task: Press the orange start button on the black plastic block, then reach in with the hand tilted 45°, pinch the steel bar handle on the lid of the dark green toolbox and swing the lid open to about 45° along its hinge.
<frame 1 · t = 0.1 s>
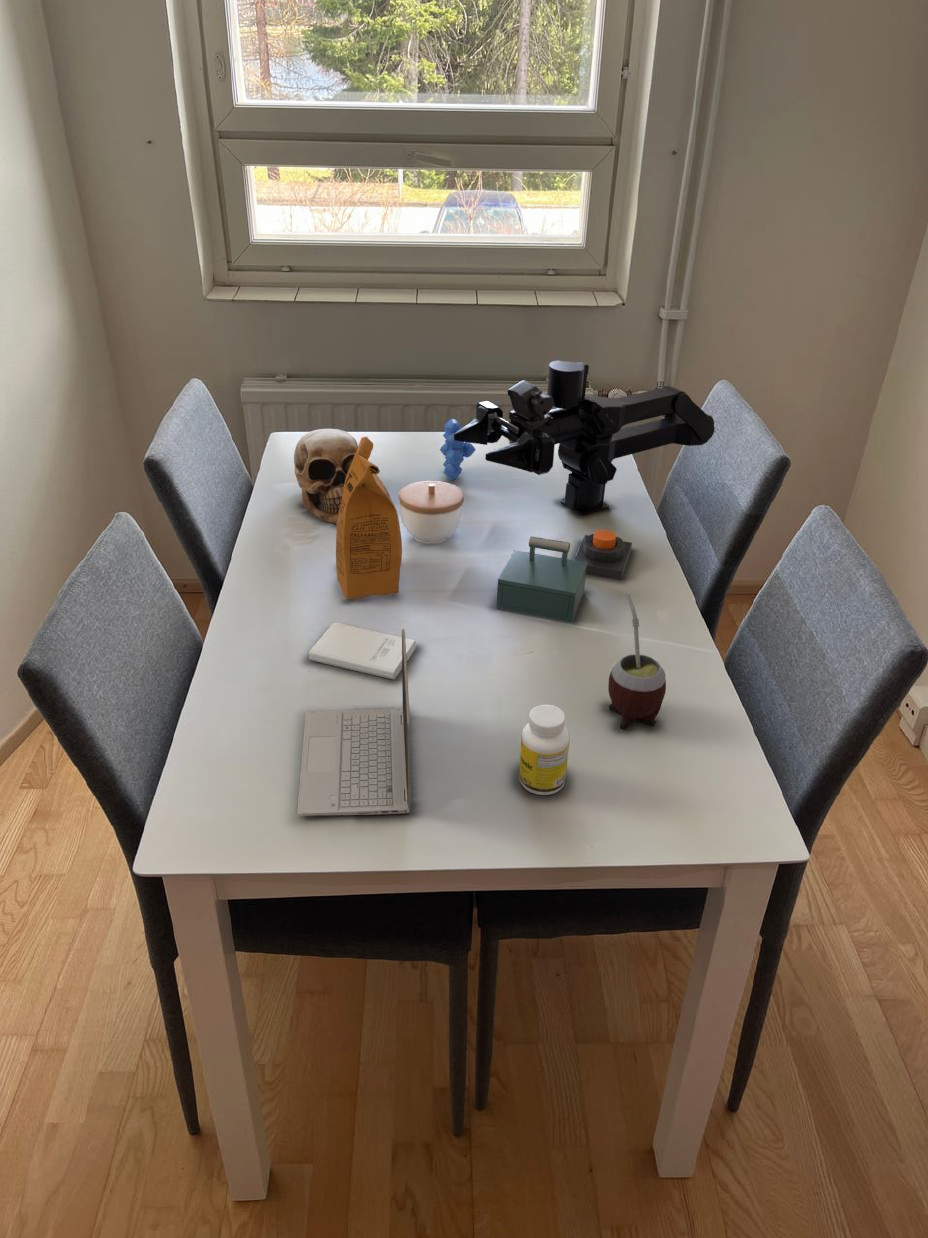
hand: (469, 446, 150), 17 cm above the table, tool horizontal, fingers open, 9 cm apart
grapes: (456, 479, 179), on the table
button block: (601, 561, 153), on the table
laptop: (355, 763, 112), on the table
dark green toolbox: (540, 600, 143), on the table
trinket box: (431, 536, 159), on the table
coffee package: (369, 582, 146), on the table
start button: (604, 539, 151), point 4 cm above the table, slide at 0.1 cm
supplement bottle: (541, 782, 110), on the table
mate gourd: (629, 715, 120), on the table
hard drive: (363, 655, 130), on the table
skull: (335, 501, 169), on the table
lid: (544, 561, 139), point 7 cm above the table, hinge at 0.0°
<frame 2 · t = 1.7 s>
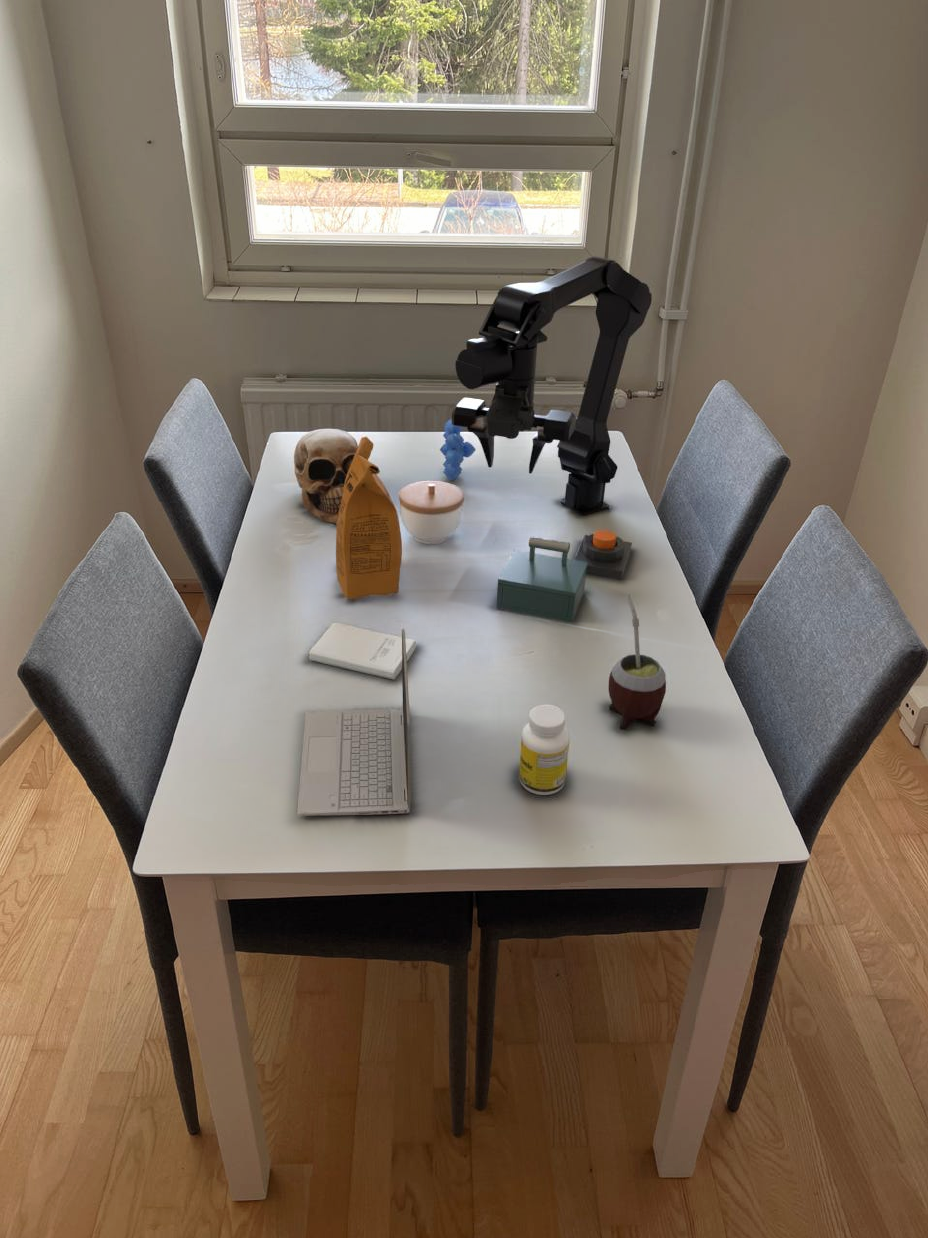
hand: (510, 469, 151), 13 cm above the table, tool pointing down, fingers open, 6 cm apart
nothing on the table moved.
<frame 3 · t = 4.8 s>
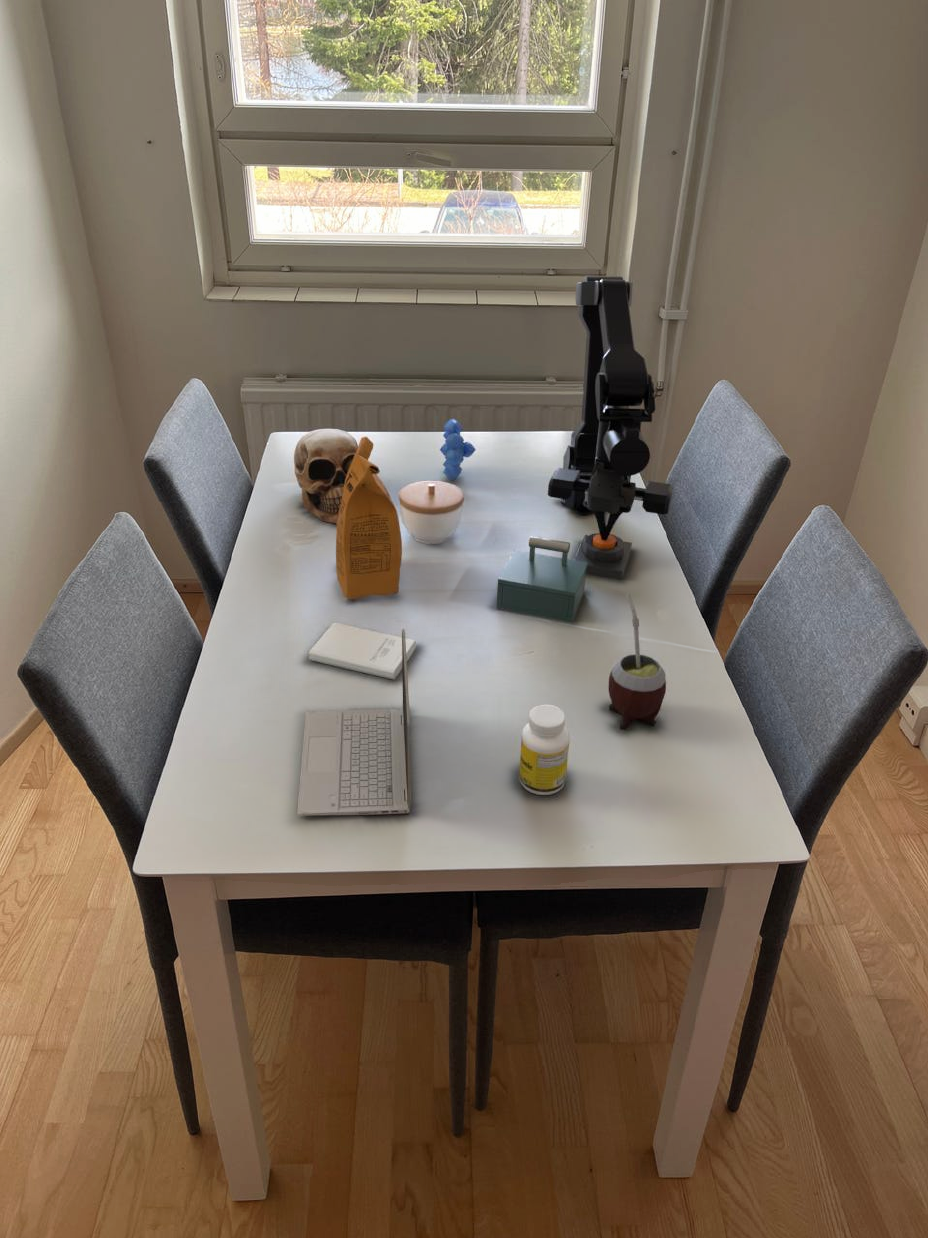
hand: (604, 538, 151), 4 cm above the table, tool pointing down, fingers closed, pressing on start button
start button: (603, 543, 152), point 3 cm above the table, slide at -0.6 cm, touching gripper
everything else where it was.
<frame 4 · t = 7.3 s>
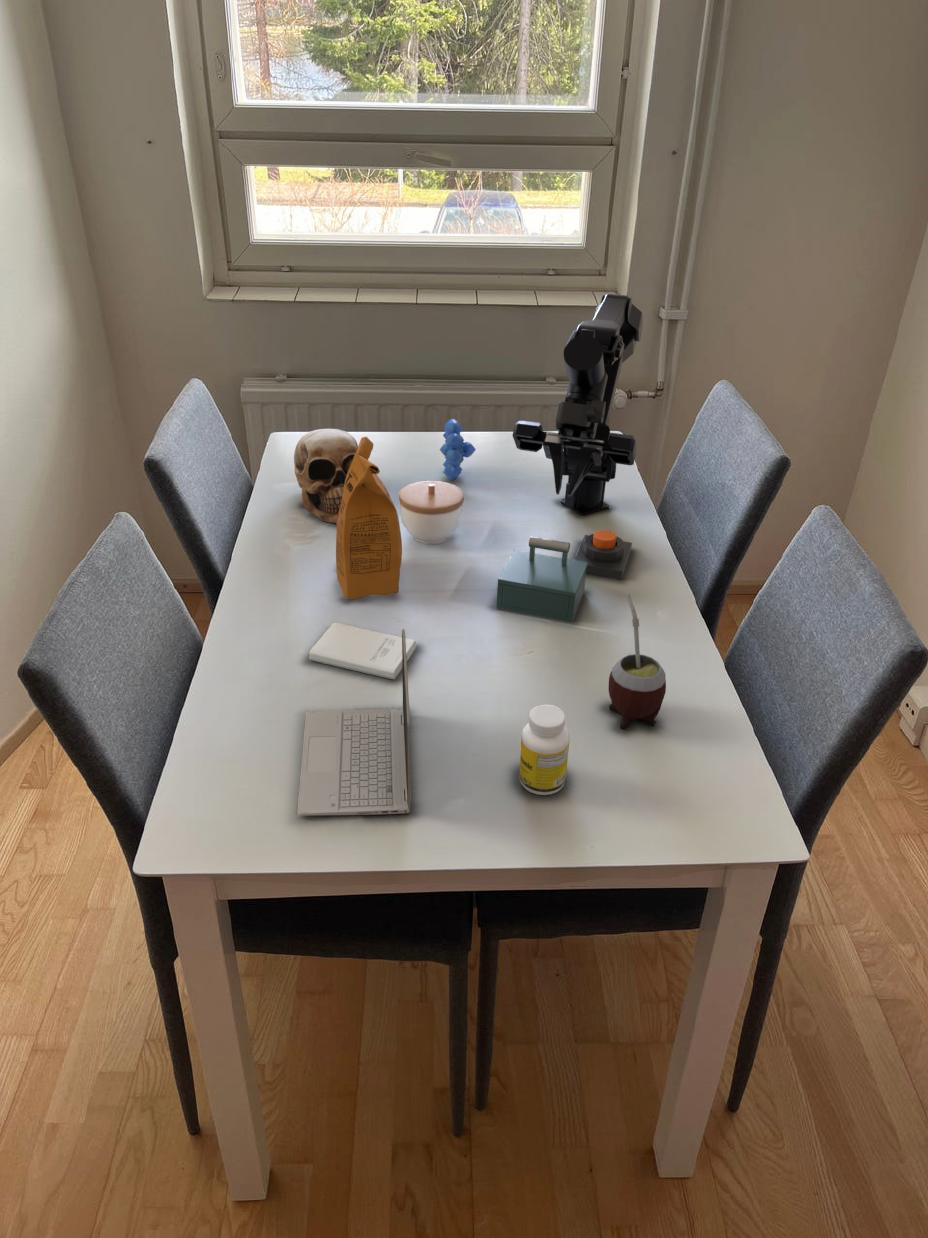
hand: (563, 494, 144), 13 cm above the table, tool tilted 45°, fingers closed
start button: (604, 539, 151), point 4 cm above the table, slide at 0.1 cm
everything else where it was.
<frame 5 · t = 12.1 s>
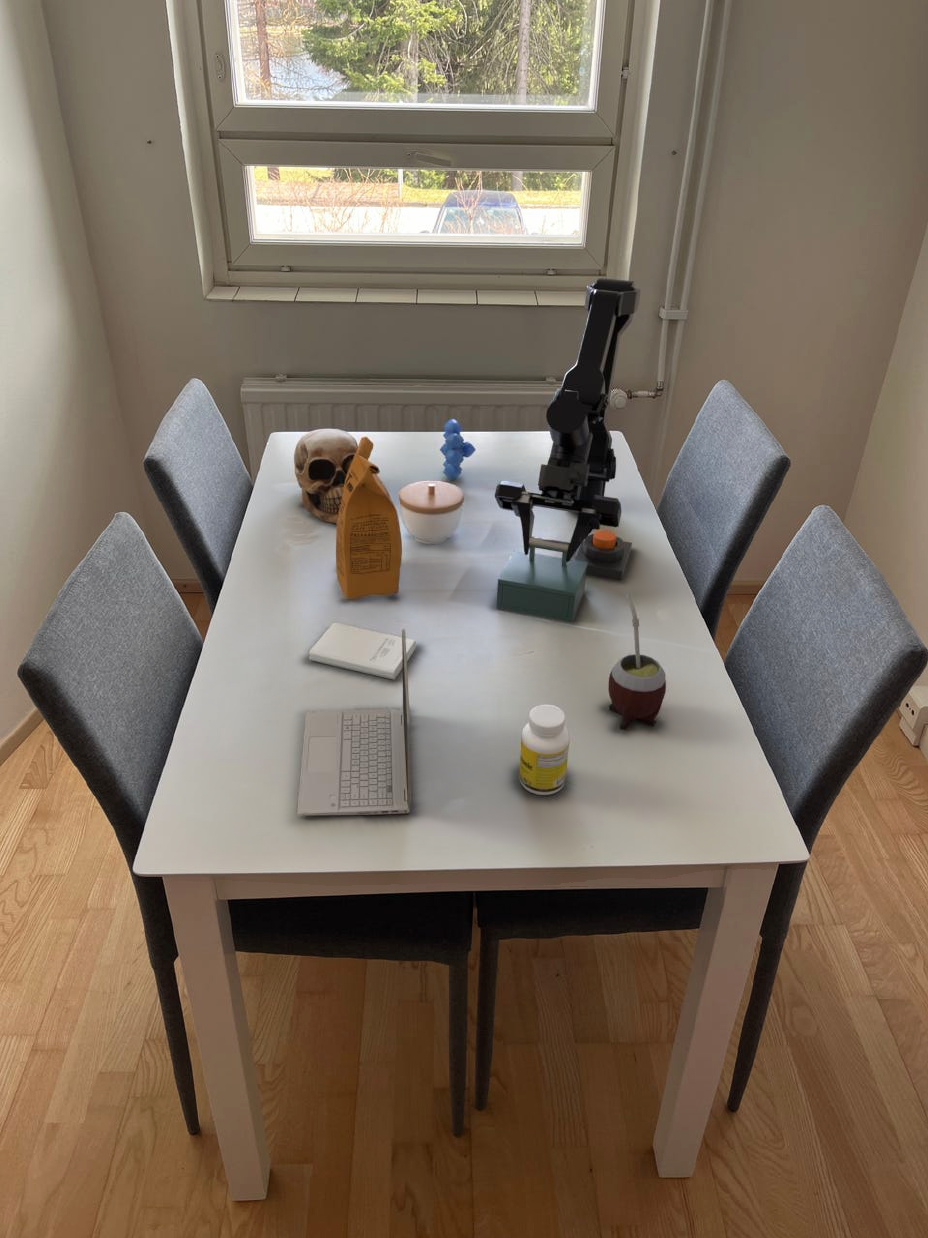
hand: (546, 557, 141), 7 cm above the table, tool tilted 45°, fingers closed on lid, 6 cm apart
lid: (544, 561, 139), point 7 cm above the table, hinge at 0.0°, touching gripper
everything else where it was.
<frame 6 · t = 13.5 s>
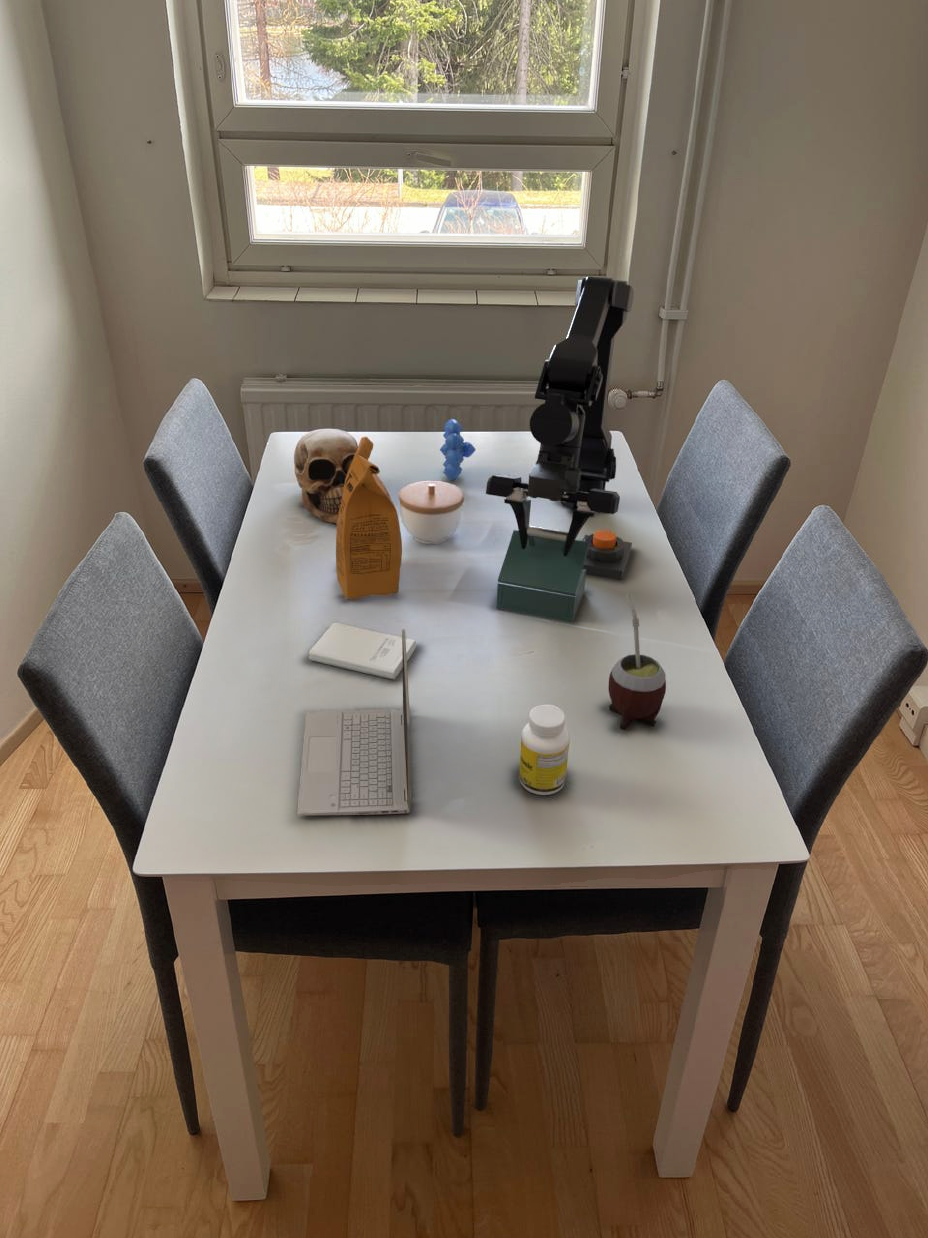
hand: (544, 552, 138), 9 cm above the table, tool tilted 20°, fingers closed on lid, 6 cm apart
lid: (543, 554, 137), point 8 cm above the table, hinge at 25.8°, touching gripper
everything else where it was.
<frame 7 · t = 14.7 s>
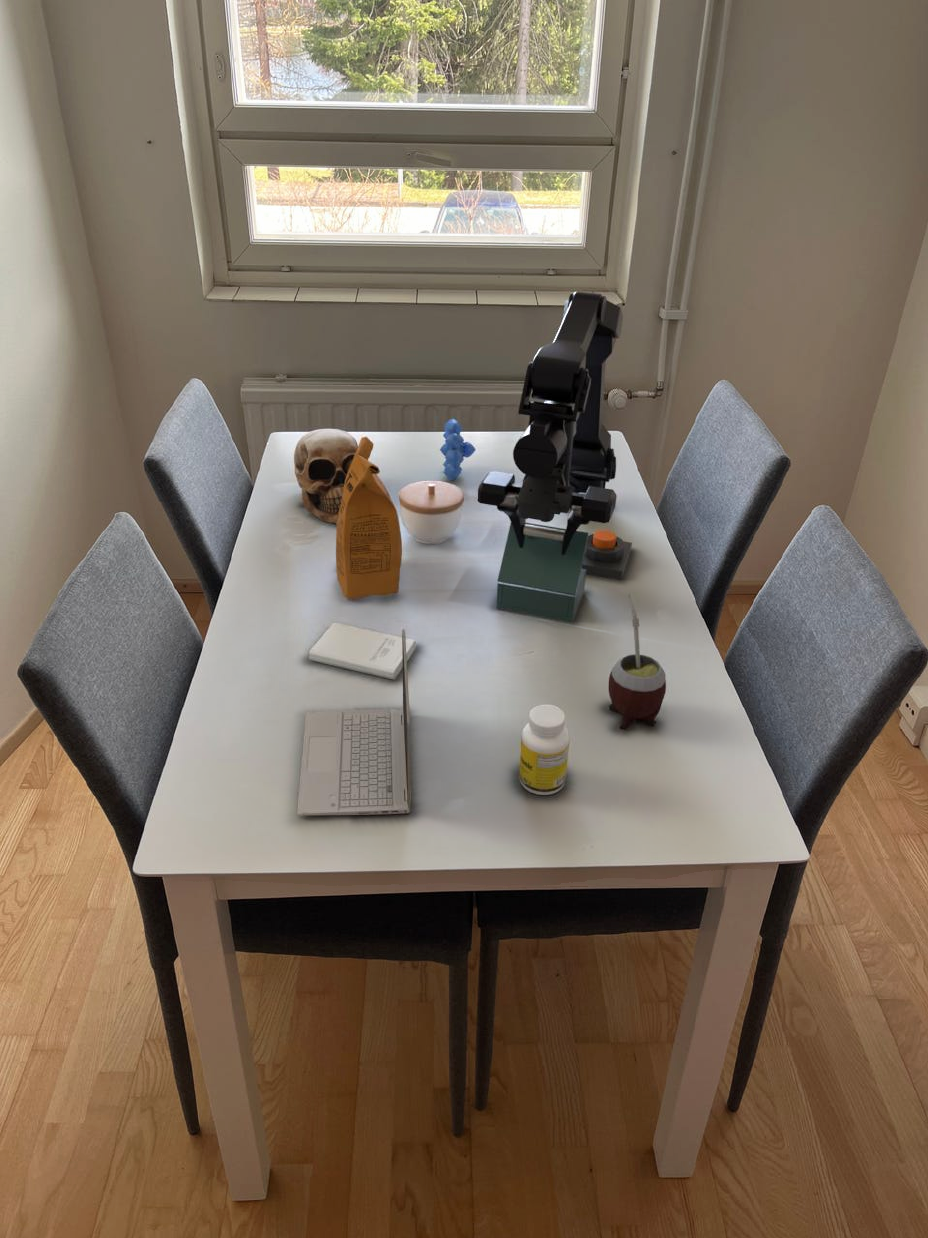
hand: (542, 550, 136), 10 cm above the table, tool pointing down, fingers closed on lid, 6 cm apart
lid: (541, 553, 136), point 9 cm above the table, hinge at 45.9°, touching gripper
everything else where it was.
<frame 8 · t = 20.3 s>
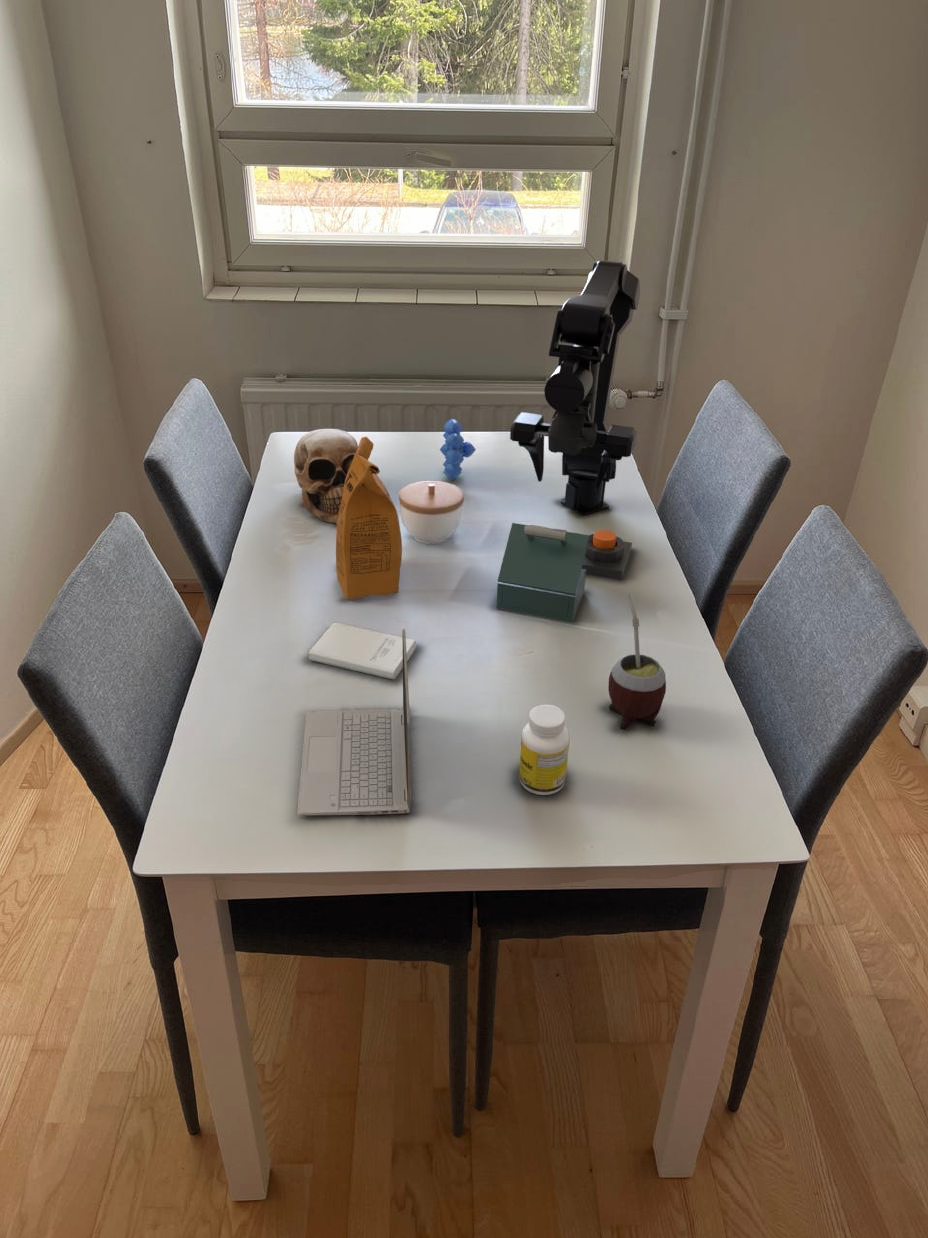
hand: (568, 484, 149), 12 cm above the table, tool pointing down, fingers open, 9 cm apart
lid: (542, 553, 136), point 9 cm above the table, hinge at 39.1°
everything else where it was.
at the end: start button pushed in 1.0 cm at the most during the clip, back to where it started at the end; start button slide at 0.1 cm; lid at +39° (first picture: +0°) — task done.
